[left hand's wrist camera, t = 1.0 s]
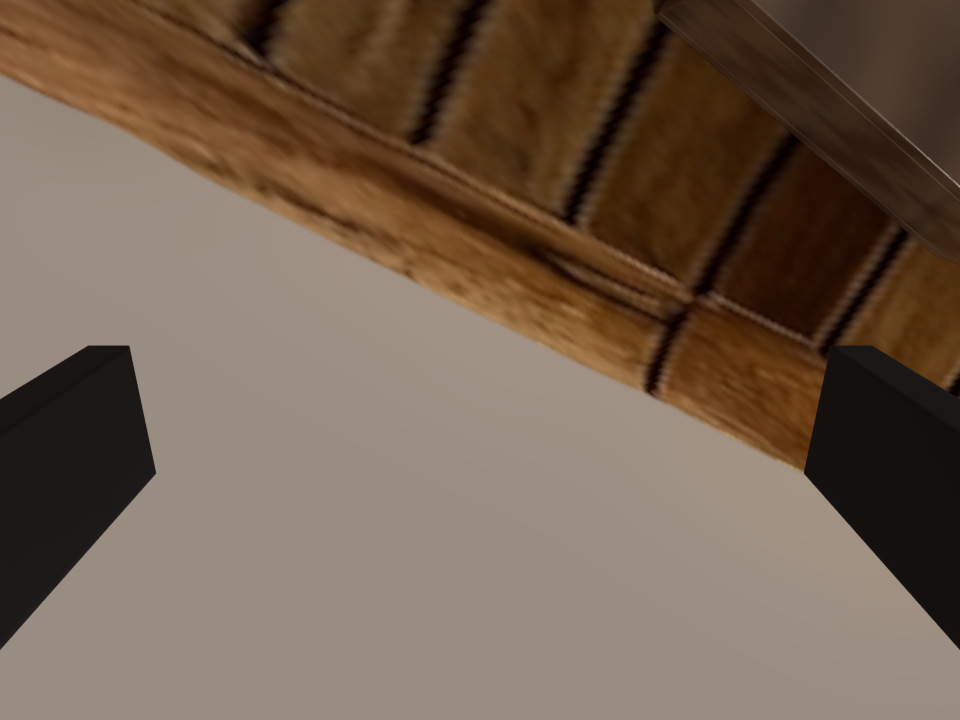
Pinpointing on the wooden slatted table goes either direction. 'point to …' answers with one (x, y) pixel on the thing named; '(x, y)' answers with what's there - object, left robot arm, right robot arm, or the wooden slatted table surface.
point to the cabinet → (852, 92)
